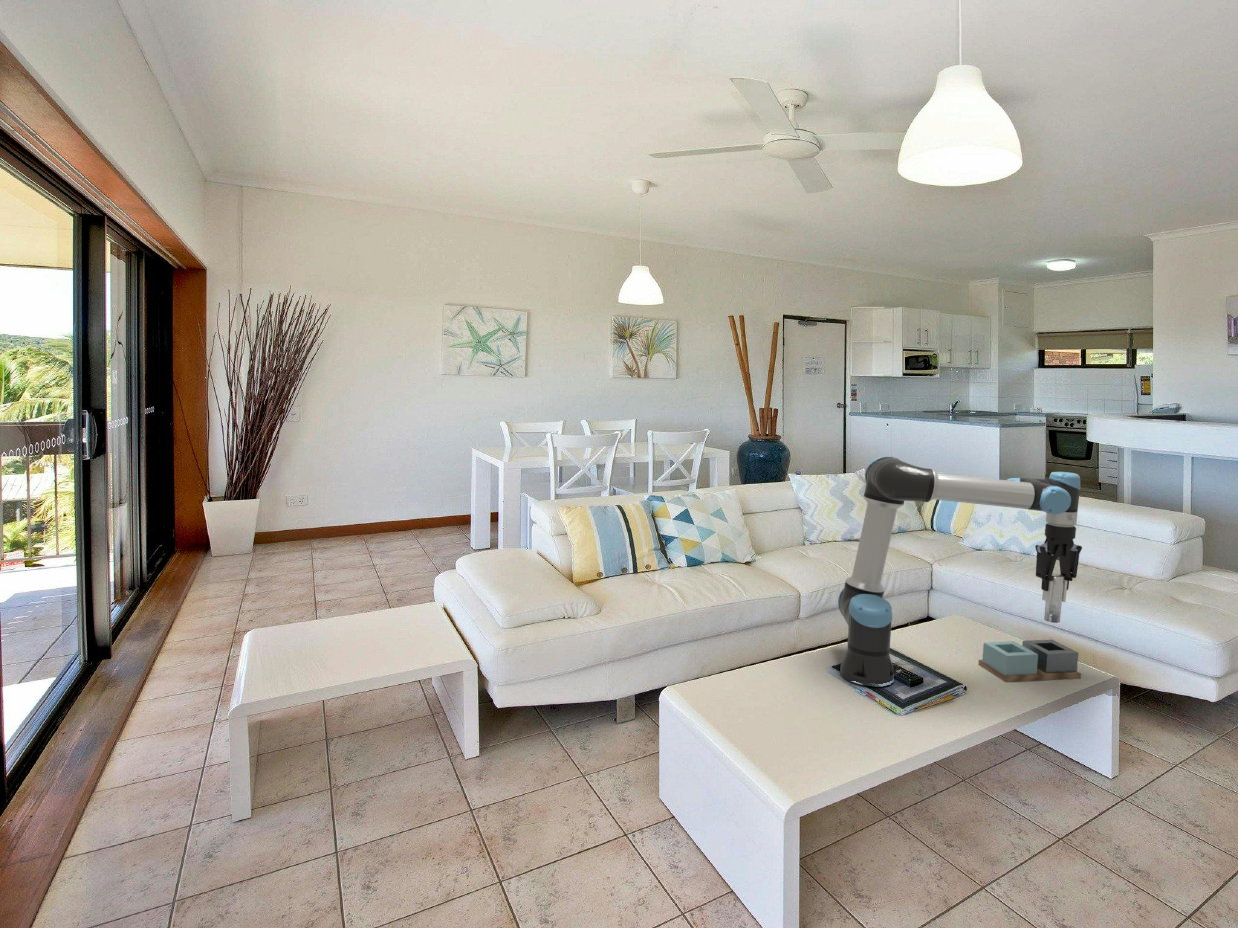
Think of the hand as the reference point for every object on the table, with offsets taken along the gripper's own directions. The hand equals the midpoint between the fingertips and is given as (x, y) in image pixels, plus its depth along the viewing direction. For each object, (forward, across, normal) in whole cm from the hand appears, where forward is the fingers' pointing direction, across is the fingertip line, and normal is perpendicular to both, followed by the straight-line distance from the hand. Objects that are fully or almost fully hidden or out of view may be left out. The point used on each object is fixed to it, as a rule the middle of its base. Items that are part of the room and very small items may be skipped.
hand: (1053, 600), depth 194 cm
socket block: (+20, 0, 0) cm, 20 cm away
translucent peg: (+6, 0, 0) cm, 6 cm away
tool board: (+22, -6, 0) cm, 23 cm away
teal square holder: (+20, -13, 0) cm, 24 cm away
